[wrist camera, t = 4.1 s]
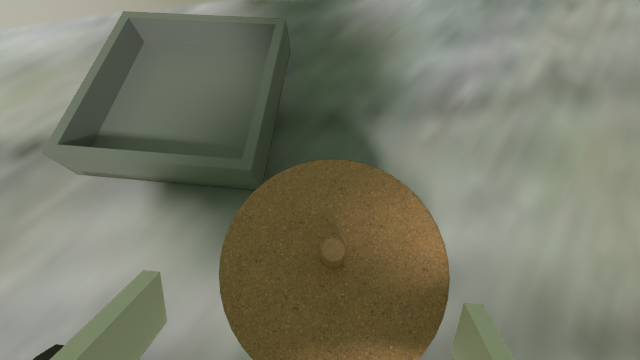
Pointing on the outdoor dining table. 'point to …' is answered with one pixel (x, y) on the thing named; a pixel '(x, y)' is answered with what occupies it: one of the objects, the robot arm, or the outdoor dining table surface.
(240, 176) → the bin
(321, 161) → the lidded jar
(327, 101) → the outdoor dining table surface
